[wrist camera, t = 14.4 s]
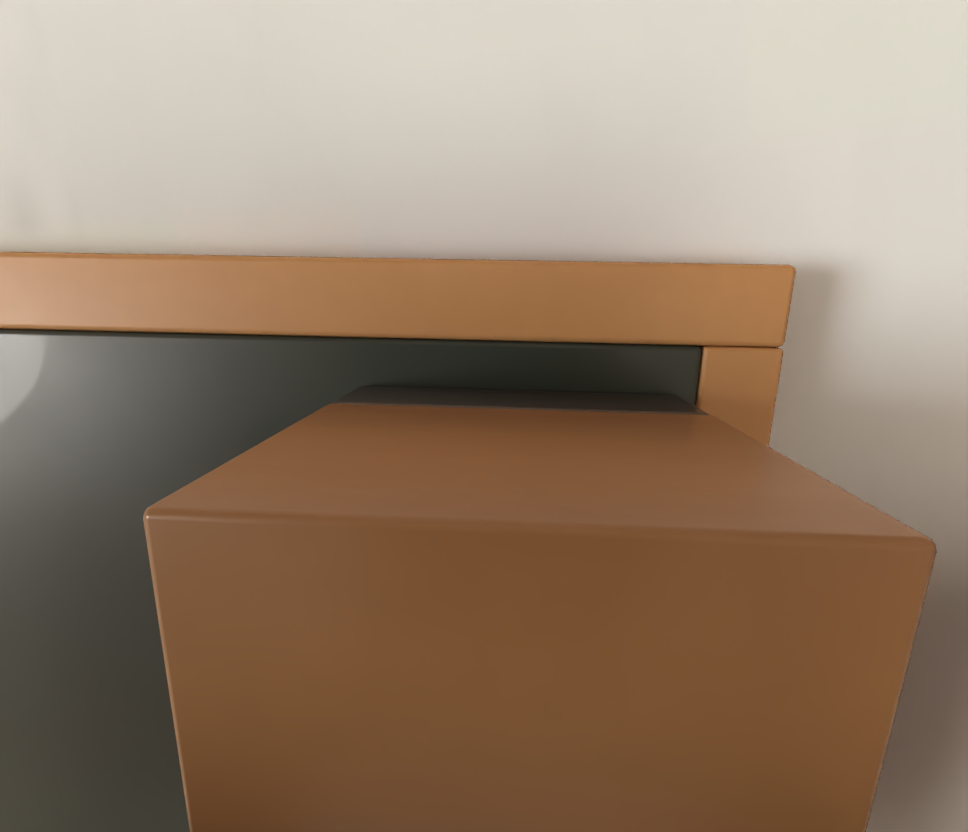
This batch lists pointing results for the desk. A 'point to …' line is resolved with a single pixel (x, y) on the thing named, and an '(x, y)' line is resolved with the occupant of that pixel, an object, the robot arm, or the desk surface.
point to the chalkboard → (251, 420)
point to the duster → (529, 623)
